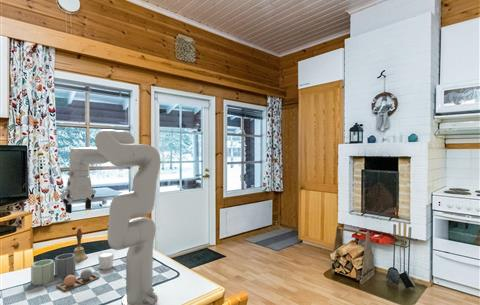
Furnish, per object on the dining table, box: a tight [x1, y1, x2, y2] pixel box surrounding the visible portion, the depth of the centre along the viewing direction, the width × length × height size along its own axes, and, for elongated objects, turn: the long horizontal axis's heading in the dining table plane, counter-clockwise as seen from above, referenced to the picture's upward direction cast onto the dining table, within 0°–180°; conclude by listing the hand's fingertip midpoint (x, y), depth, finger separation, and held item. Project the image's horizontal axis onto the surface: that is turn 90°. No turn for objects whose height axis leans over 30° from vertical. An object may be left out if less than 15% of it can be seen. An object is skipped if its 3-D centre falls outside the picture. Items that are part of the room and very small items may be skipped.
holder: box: [56, 273, 100, 293], centre depth 118 cm, size 7×14×2 cm, turn 146°
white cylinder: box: [98, 251, 114, 270], centre depth 134 cm, size 7×7×7 cm
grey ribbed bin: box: [54, 252, 76, 278], centre depth 127 cm, size 8×8×9 cm
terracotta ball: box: [63, 274, 77, 286], centre depth 115 cm, size 4×4×4 cm
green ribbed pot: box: [30, 259, 55, 286], centre depth 120 cm, size 8×8×9 cm
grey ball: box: [80, 268, 93, 280], centre depth 121 cm, size 4×4×4 cm
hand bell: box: [73, 228, 89, 263], centre depth 147 cm, size 8×8×16 cm
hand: (78, 210), depth 129 cm, fingers open, 9 cm apart
